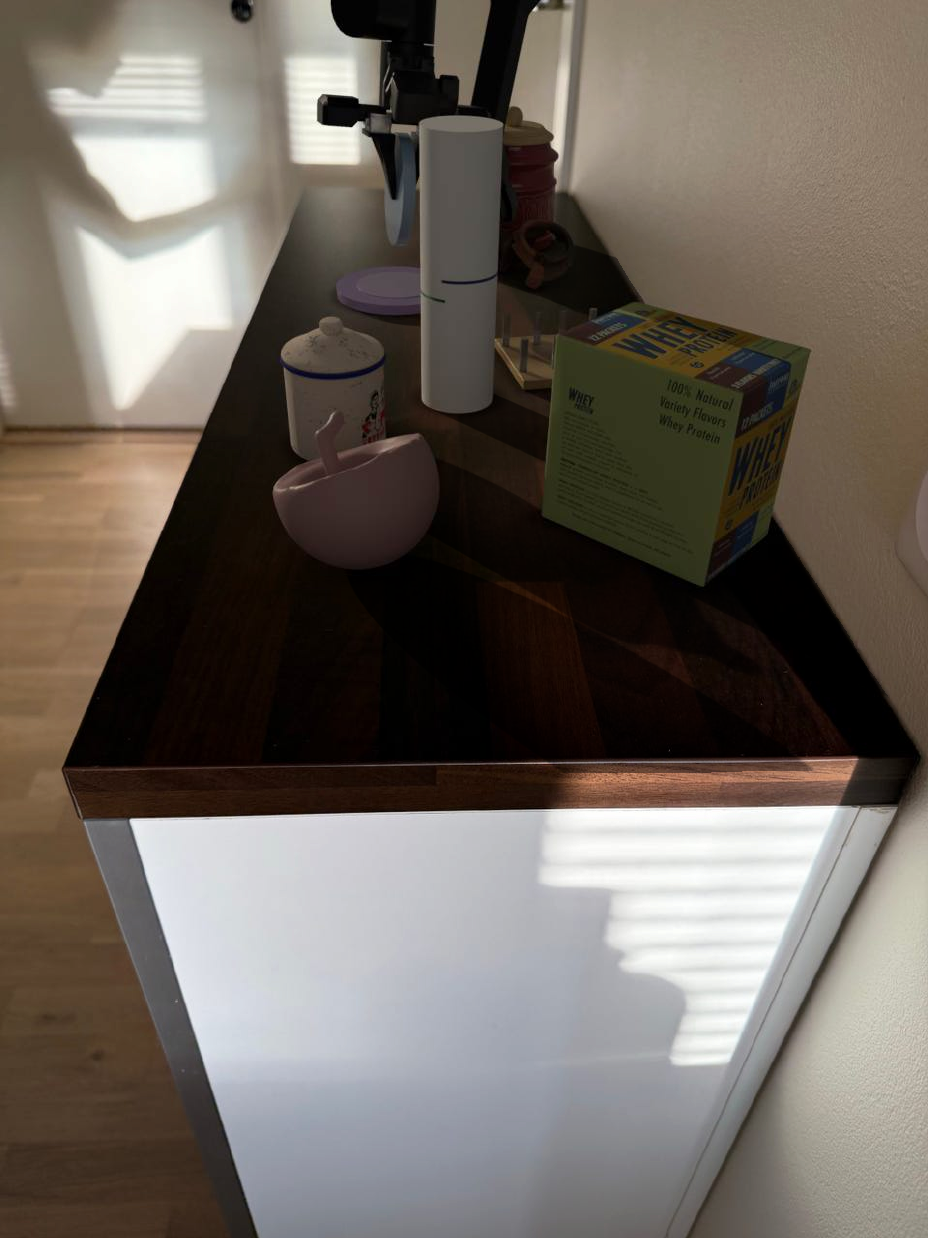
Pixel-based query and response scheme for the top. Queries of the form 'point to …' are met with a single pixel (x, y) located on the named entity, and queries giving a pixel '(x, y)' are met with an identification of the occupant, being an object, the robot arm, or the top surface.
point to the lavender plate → (382, 290)
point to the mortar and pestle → (360, 499)
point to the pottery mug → (534, 251)
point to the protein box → (669, 436)
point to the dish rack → (532, 352)
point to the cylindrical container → (459, 259)
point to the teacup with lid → (334, 387)
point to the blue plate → (401, 193)
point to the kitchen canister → (530, 172)
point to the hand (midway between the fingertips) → (400, 199)
